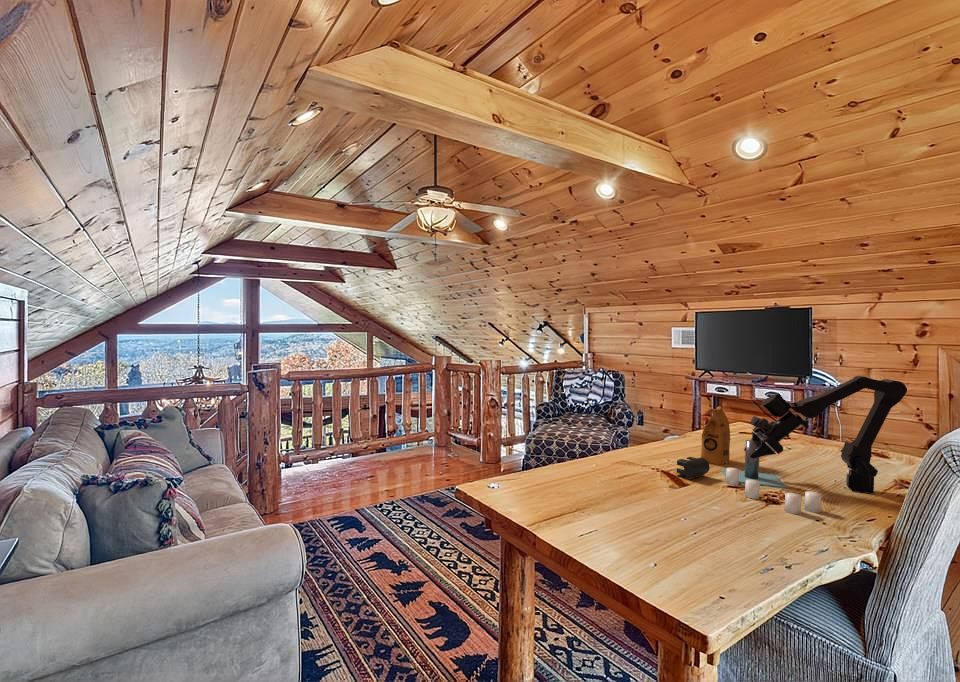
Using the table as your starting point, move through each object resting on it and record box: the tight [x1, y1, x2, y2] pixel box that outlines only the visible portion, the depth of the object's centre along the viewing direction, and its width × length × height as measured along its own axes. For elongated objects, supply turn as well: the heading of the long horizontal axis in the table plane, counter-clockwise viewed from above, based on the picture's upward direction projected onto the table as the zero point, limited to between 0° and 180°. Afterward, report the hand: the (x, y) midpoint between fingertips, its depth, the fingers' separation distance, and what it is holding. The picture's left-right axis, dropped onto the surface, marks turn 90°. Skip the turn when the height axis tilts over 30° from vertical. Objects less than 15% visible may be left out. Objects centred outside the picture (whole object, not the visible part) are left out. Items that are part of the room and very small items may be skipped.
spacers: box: [725, 467, 822, 515], centre depth 152 cm, size 14×29×5 cm, turn 11°
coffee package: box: [700, 405, 731, 466], centre depth 191 cm, size 10×12×22 cm
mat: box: [720, 468, 788, 489], centre depth 169 cm, size 18×14×1 cm
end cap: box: [676, 456, 711, 480], centre depth 170 cm, size 10×7×7 cm
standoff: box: [744, 439, 760, 479], centre depth 169 cm, size 4×4×13 cm
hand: (747, 454), depth 169 cm, fingers open, 9 cm apart
